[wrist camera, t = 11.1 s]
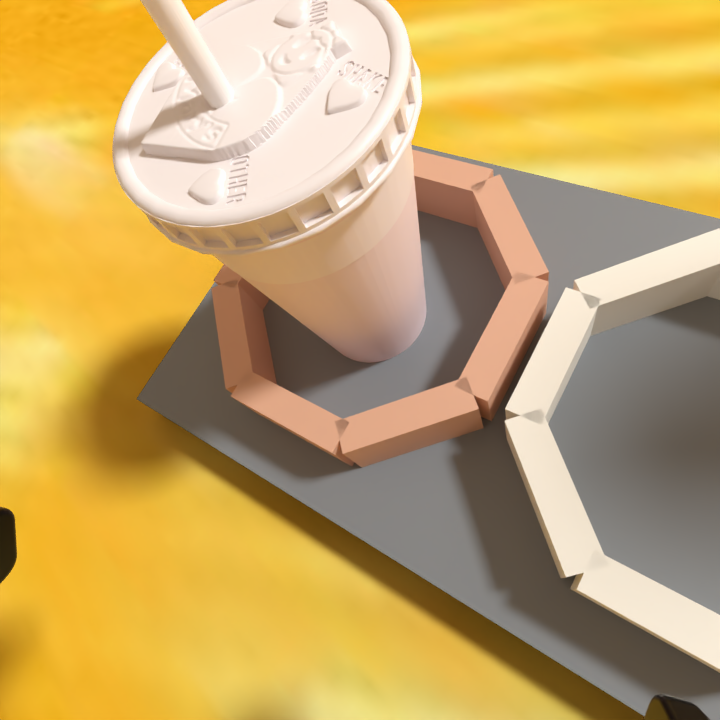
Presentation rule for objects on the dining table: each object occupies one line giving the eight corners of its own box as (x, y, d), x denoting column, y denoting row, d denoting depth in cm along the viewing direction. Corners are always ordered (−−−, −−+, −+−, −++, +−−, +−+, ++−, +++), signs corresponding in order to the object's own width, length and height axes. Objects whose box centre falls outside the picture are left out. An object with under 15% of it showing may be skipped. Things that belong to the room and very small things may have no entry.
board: (893, 865, 12) (1028, 968, 9) (160, 410, 22) (99, 381, 18) (1036, 332, 15) (1175, 264, 11) (332, 148, 24) (304, 85, 21)
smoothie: (269, 289, 20) (-121, -162, 8) (417, 209, 20) (242, -403, 8) (326, 433, 18) (-148, 70, 5) (502, 344, 17) (441, -296, 5)
